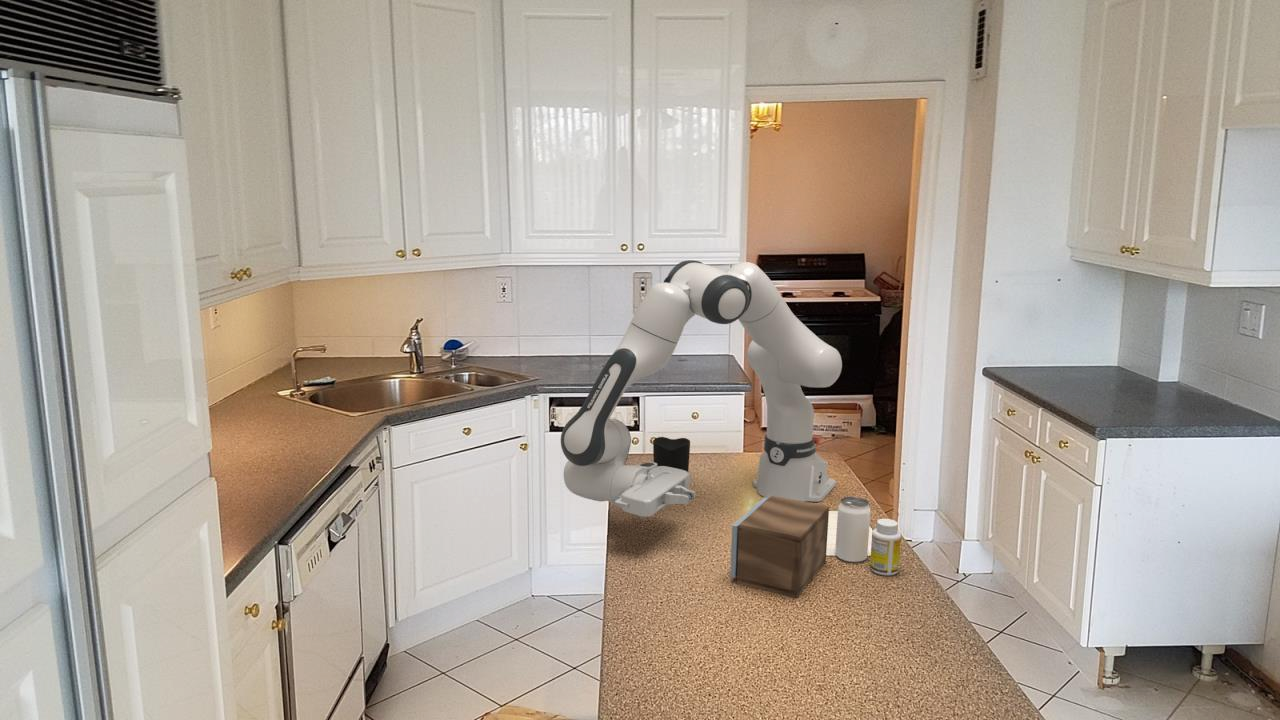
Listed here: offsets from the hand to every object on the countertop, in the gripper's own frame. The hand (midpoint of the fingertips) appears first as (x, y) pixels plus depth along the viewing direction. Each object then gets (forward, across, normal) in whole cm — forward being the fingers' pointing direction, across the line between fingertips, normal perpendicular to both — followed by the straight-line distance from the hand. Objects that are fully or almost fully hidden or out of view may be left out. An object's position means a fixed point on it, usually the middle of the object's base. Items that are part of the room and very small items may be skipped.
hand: (691, 498), depth 188 cm
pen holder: (-23, +37, +12) cm, 45 cm away
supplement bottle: (+38, +9, +12) cm, 41 cm away
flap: (+14, -2, +10) cm, 17 cm away
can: (+30, +12, +12) cm, 35 cm away
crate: (+21, -2, +11) cm, 24 cm away
